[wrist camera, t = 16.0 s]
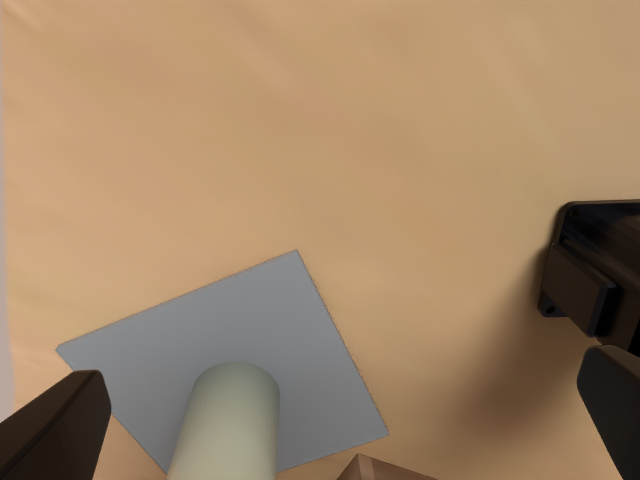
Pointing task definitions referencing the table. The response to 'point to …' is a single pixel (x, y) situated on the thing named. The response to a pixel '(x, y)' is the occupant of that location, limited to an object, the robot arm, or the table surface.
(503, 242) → the table surface
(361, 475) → the brown square open box
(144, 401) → the mat
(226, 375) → the green bottle
